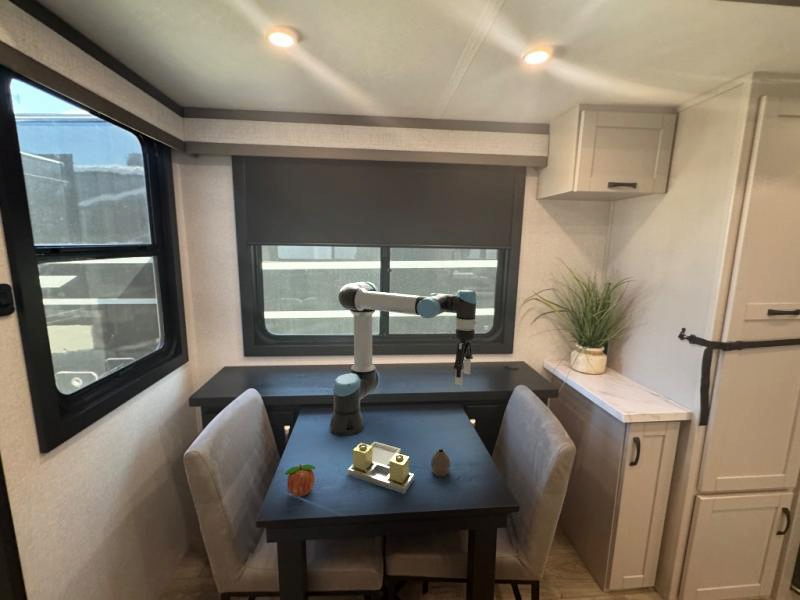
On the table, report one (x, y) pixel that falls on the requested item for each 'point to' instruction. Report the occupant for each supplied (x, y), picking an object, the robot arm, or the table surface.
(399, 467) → the knobbed block
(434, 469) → the vase
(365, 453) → the brass block with knob
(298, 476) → the fruit
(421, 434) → the table surface
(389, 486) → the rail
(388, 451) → the tray
